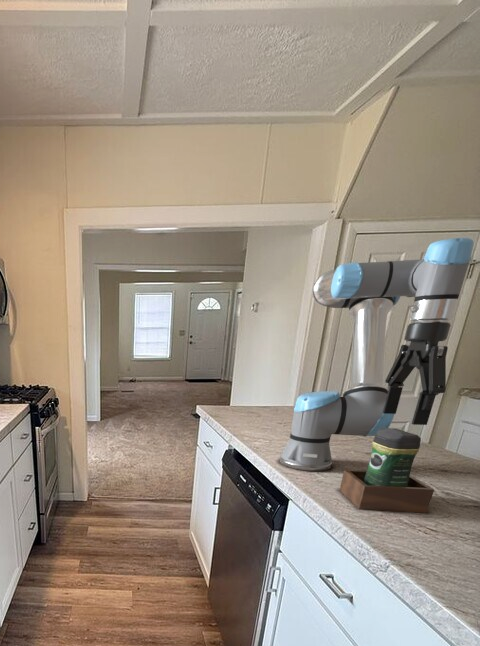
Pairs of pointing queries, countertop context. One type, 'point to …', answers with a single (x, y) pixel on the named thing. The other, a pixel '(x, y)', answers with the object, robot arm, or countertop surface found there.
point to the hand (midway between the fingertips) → (403, 418)
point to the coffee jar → (391, 458)
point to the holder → (385, 494)
